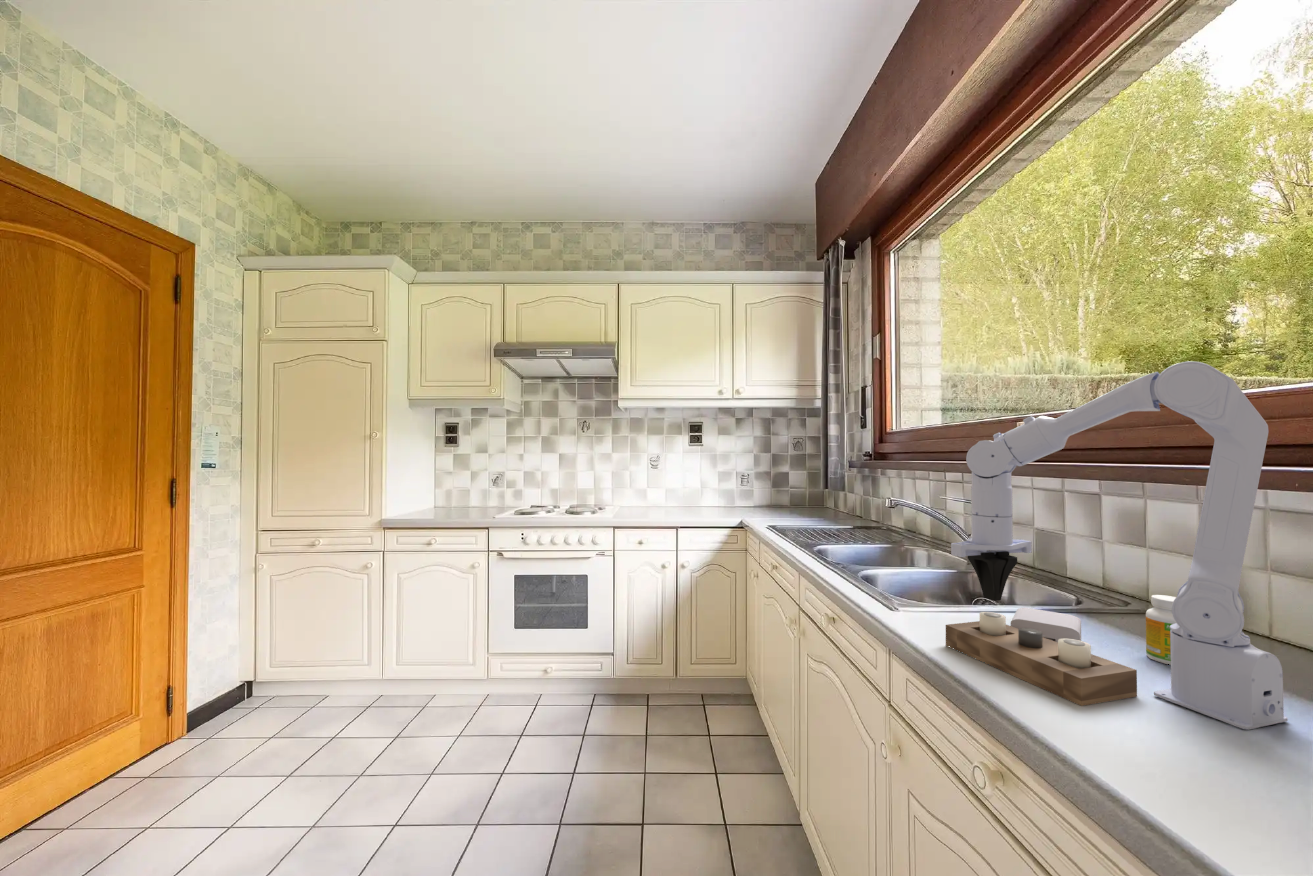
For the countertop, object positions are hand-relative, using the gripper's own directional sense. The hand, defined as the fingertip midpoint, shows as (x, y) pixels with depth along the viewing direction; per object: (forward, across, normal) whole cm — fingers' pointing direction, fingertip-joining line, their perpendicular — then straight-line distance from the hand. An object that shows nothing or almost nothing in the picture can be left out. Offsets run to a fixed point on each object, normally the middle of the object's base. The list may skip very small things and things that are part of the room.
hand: (992, 599), depth 88 cm
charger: (+9, -15, -2) cm, 18 cm away
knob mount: (+9, 0, +6) cm, 11 cm away
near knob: (+6, 0, +13) cm, 14 cm away
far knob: (+6, 0, 0) cm, 6 cm away
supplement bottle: (+9, -24, +10) cm, 27 cm away
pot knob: (+5, 0, +6) cm, 8 cm away
